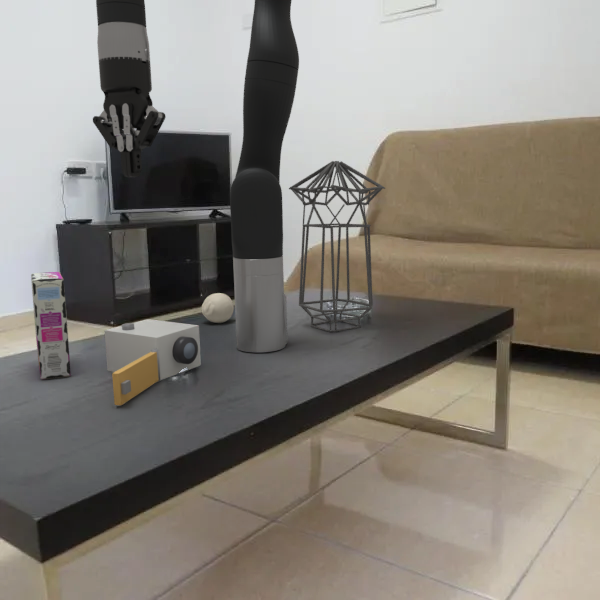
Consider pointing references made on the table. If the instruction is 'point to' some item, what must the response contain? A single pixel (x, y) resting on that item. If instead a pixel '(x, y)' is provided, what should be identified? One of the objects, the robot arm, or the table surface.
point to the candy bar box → (51, 325)
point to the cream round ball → (217, 308)
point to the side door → (136, 377)
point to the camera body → (154, 345)
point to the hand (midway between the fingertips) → (132, 176)
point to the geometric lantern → (324, 172)
